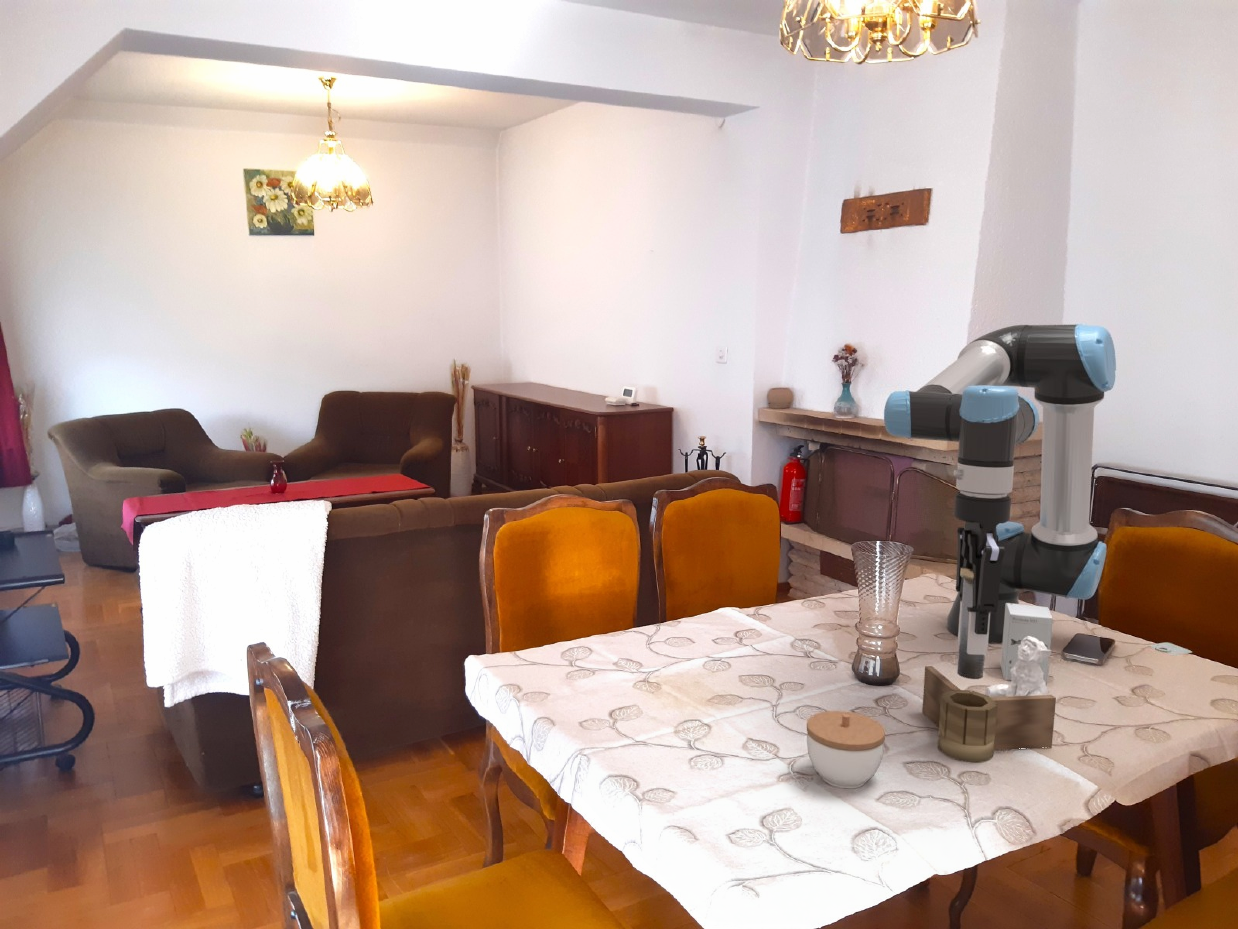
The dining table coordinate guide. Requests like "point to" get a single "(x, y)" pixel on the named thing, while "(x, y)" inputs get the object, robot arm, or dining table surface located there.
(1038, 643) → the sitting furry creature
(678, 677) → the dining table surface
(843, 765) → the lidded jar
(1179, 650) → the mounting bracket
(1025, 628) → the supplement box
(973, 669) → the hinge pin
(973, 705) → the hinge
